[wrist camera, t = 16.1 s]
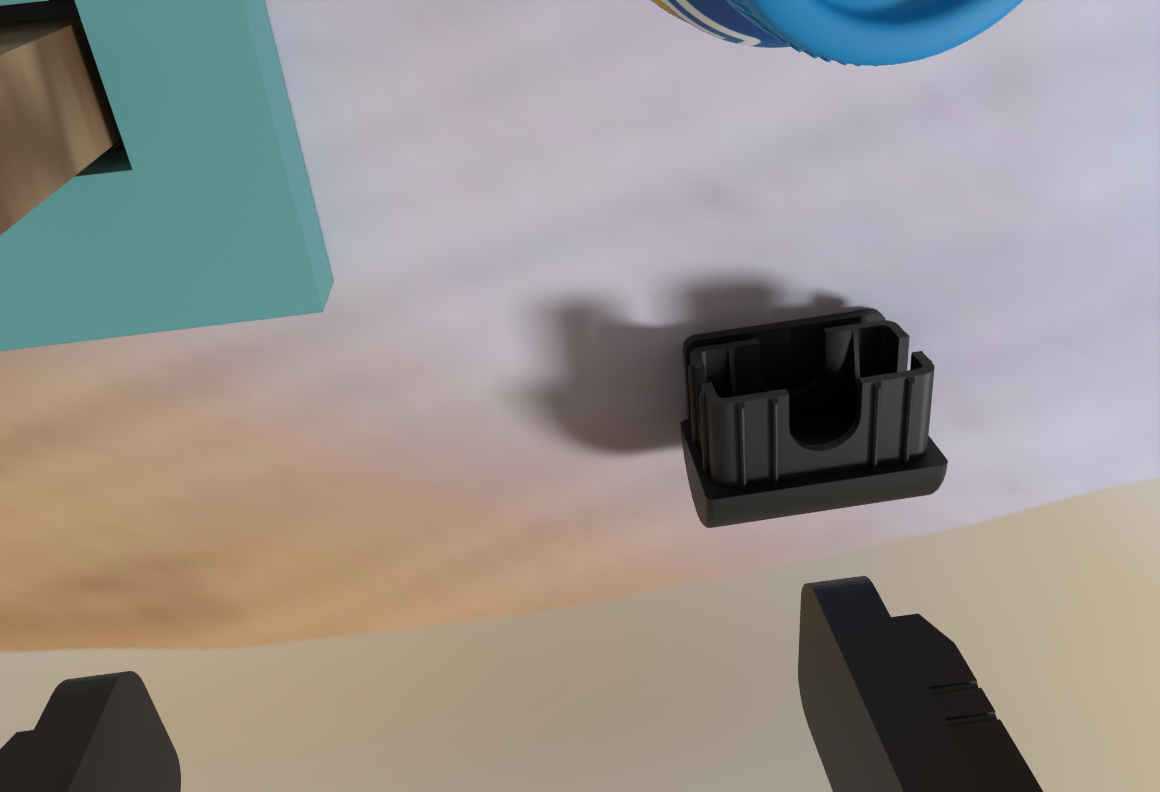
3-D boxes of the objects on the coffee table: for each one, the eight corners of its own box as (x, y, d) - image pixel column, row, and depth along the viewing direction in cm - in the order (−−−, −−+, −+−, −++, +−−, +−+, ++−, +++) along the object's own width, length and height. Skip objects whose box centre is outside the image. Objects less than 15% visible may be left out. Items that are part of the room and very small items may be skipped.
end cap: (680, 467, 45) (710, 558, 39) (670, 336, 41) (702, 416, 35) (884, 436, 45) (944, 522, 39) (892, 304, 41) (959, 378, 36)
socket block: (-318, -194, 29) (-397, -198, 26) (203, -247, 29) (177, -256, 27) (-60, 328, 38) (-100, 363, 35) (333, 281, 38) (322, 312, 36)
